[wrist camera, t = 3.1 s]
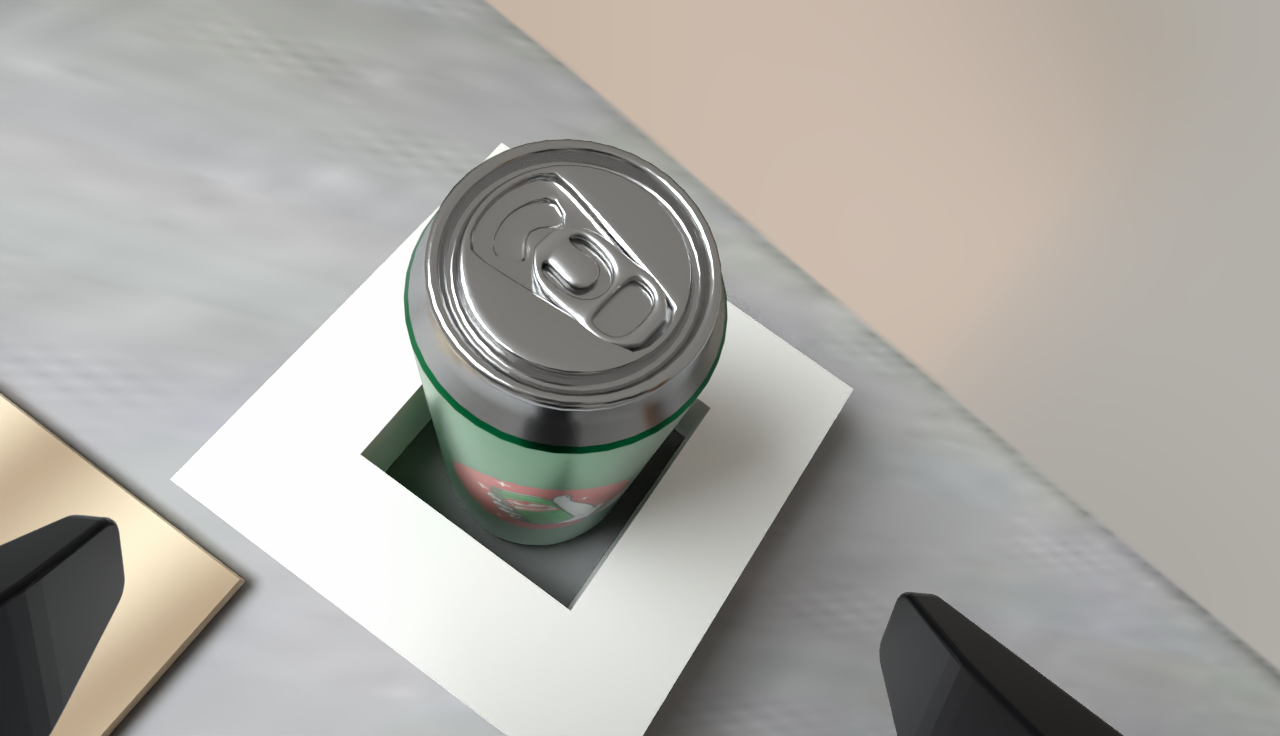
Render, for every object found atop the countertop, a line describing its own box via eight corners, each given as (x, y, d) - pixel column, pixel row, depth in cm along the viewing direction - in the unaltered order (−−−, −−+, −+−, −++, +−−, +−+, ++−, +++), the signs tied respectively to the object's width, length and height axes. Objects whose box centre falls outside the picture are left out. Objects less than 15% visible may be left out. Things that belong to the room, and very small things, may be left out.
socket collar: (812, 419, 24) (853, 389, 21) (585, 785, 20) (599, 806, 17) (501, 199, 25) (501, 142, 22) (214, 503, 20) (170, 479, 18)
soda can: (533, 341, 24) (564, 61, 12) (661, 452, 23) (812, 263, 12) (408, 464, 22) (312, 263, 11) (544, 587, 21) (594, 513, 10)
